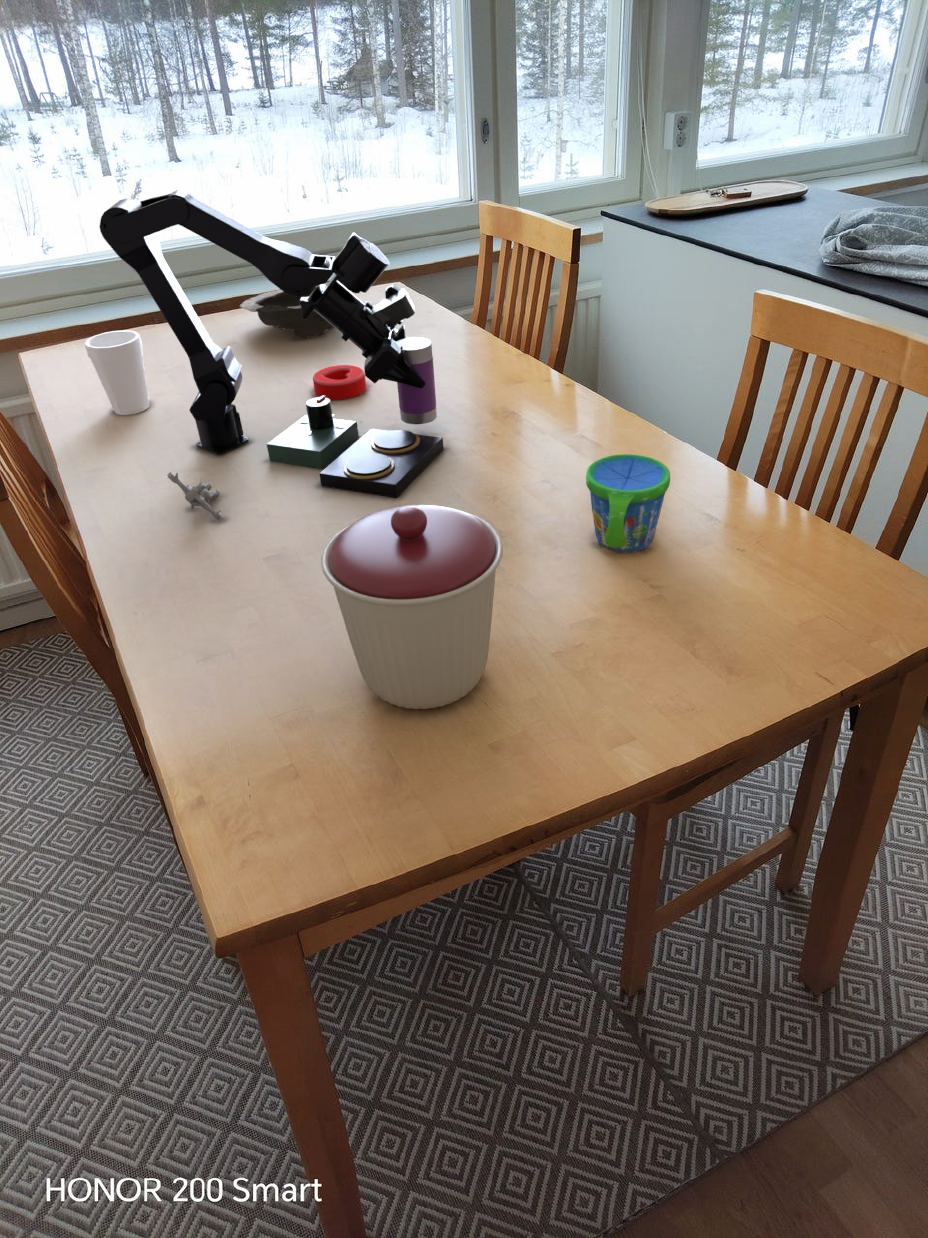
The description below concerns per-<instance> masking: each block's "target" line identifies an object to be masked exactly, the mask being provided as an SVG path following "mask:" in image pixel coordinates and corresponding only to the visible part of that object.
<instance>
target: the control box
mask: <svg viewBox="0 0 928 1238" xmlns="http://www.w3.org/2000/svg"><path fill="white" fill-rule="evenodd" d="M335 415H336V414H335V413H334V414H333V413H332V416H333V422H334V424H333V425H332V426H331V427H329V428H327V429H322V430H316V429H312V428H310V426H309V420H308V414H305V415H303V416H302V417H300V418H299V419H298V420H296V421H294V422H293V424H291V425H290V426H289V427H287V428H286V429H284V430H283V431H282V432H280V433H279V434H278V435H277V436H275V437H274V438H273V439H271V440H270V441H269V442H267V443H266V448H267V453H268V454H267V455H268V458H269V462H275V463H281V464H288V465H293V466H294V465H295V466H301V467H309V468H313V469H314V468H315V469H321V470H324V469H325V468H326V467H327V466H328V465H330V464H331V463H332V462H333V461H334V460H335V459H337V458H338V457H339V456H340V455H341V454H342V453H344V452H345V451H346V450H347V449H348V448H349V447H350V446H352V445H353V444H354V443H355V442H356V441H357V440H359V439H360V436H359V427H358V421H357V420H351V419H350V420H348V419H341V418H335Z"/></svg>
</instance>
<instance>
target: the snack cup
mask: <svg viewBox="0 0 928 1238" xmlns="http://www.w3.org/2000/svg"><path fill="white" fill-rule="evenodd" d="M670 483H671V471H670V470H669V468H668V466H667V465H666V464H664V463H663V462H662V461H660V460H658V459H656V458H653V457H650V456H647V455H641V454H632V453H622V454H621V453H619V454H612V455H608V456H605V457H601V458H599V459H597V460H595V461H594V462H592V463H591V464H590V465H589V466H588V468H587V469H586V474H585V485H586V487H587V489H588V490H589V493H590V495H589V496H590V504H591V513H592V518H593V526H594V535H595V537H596V540H597V544H598V546H603V547H604V548H606V549H607V550H609V551H612V552H616V553H618V554H623V553H636V552H639V551H642V550H646V549H648V548H649V547H650V545H651V544H652V542H653V540H654V538H655V533H656V531H657V526H658V523H659V519H660V515H661V512H662V508H663V504H664V500H665V494H666V492H667V491H668V489H669V488H670Z"/></svg>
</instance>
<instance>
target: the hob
mask: <svg viewBox="0 0 928 1238" xmlns="http://www.w3.org/2000/svg"><path fill="white" fill-rule="evenodd" d="M444 449H445V448H444V439H443V437H442V436H435V435H433V436H432V435H426V434H417V433H414V432H412V431H409V430H404V429H394V430H393V429H392V430H387V429H380V428H379V429H378V428H370V429H369V430H368V431H366V432H365V433H364V434H363V435H362V436H361V437H359V438H358V439H357V440H356V441H355V442H353V443H352V444H351V445H350V446H349V447H348V448H347V449H345V450H344V451H343V452H342V453H341V454H340V455H338V456H337V457H336V458H335V459H334V460H333V461H331V462H330V463H329V464H328V465H327V466H326V467H325V468H323V469H322V471H320V472H319V475H318V476H319V481H320V486H321V487H325V488H331V489H338V490H342V491H350V492H357V493H363V494H369V495H376V496H382V497H387V498H389V497H390V498H395V499H397V498H398V497H400V495H401V494H402V493H404V492H405V491H406V490H407V488H408V487H409V486H410V485H411V484H412V483H414V481H415V480H416V479H417V478H418V477H419V476H420V475H421V474H423V472H424V471H425V470H426V469H427V468H428V466H429V465H431V464H432V462H433V461H435V459H436V458H438V456H439V455H440V454H441V453H442V452H443V451H444Z"/></svg>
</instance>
